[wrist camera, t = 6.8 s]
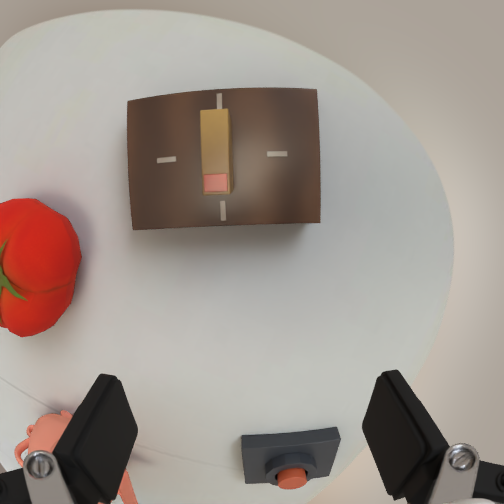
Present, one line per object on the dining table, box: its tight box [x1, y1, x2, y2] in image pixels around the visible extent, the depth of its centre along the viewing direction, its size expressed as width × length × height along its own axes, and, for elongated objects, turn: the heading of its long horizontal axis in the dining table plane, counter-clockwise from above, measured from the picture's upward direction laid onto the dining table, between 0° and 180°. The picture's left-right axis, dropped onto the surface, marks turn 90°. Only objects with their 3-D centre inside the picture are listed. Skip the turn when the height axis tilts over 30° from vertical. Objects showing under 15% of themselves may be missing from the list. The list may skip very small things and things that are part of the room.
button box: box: [242, 427, 341, 486], centre depth 30 cm, size 12×10×4 cm
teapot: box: [15, 410, 138, 504], centre depth 25 cm, size 16×17×14 cm
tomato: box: [0, 198, 82, 337], centre depth 20 cm, size 14×13×9 cm
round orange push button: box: [277, 468, 307, 489], centre depth 28 cm, size 4×4×2 cm
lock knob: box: [200, 109, 233, 196], centre depth 17 cm, size 5×2×4 cm, turn 1°
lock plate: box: [127, 88, 321, 230], centre depth 21 cm, size 14×10×3 cm
